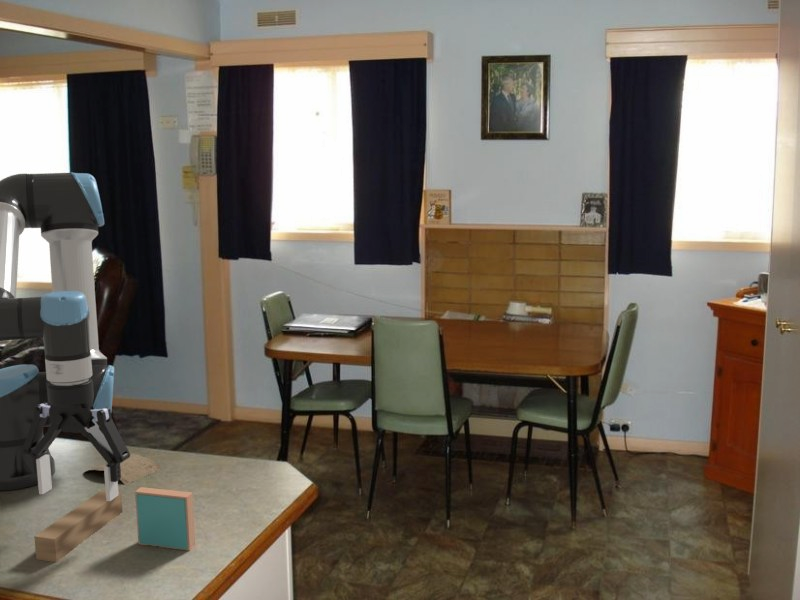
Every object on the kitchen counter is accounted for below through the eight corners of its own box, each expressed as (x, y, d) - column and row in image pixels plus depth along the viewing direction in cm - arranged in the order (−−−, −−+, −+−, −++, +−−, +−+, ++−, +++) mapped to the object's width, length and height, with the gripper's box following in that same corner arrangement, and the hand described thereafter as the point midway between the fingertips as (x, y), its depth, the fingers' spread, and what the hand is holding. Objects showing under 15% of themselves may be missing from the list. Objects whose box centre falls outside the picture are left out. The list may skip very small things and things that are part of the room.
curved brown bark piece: (163, 471, 184) (163, 459, 184) (128, 488, 176) (128, 476, 175) (115, 460, 191) (114, 448, 191) (79, 475, 183) (78, 463, 182)
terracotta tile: (144, 539, 153) (141, 487, 151) (195, 545, 150) (192, 492, 148) (137, 545, 151) (134, 492, 149) (189, 551, 148) (186, 497, 146)
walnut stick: (104, 511, 165) (102, 489, 164) (122, 513, 164) (121, 491, 163) (36, 560, 146) (34, 536, 145) (56, 563, 145) (54, 539, 144)
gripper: (-7, 381, 148) (4, 496, 152) (121, 390, 142) (129, 509, 146) (22, 370, 155) (31, 480, 159) (145, 378, 150) (152, 492, 153)
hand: (78, 494), depth 153 cm, fingers open, 13 cm apart
